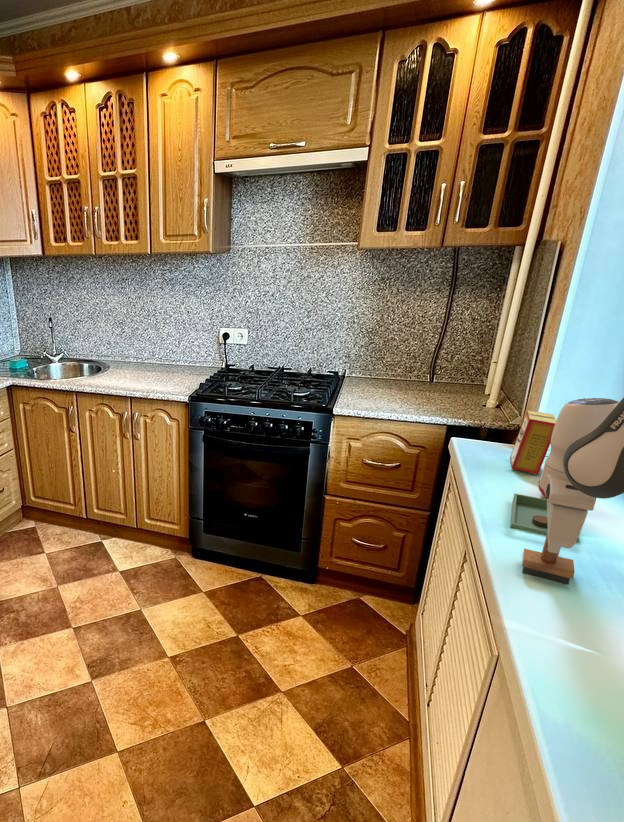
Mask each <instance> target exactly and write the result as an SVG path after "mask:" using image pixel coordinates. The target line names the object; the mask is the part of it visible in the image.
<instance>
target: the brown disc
mask: <svg viewBox="0 0 624 822" xmlns="http://www.w3.org/2000/svg"><path fill="white" fill-rule="evenodd" d="M532 523H533V524H534V525H536V526H539V527H543V528H548V525H547V517H545V516H533V518H532Z"/></svg>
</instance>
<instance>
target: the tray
mask: <svg viewBox="0 0 624 822" xmlns="http://www.w3.org/2000/svg"><path fill="white" fill-rule="evenodd" d="M533 516H545V517H547V498H541V497H536V496H530V495H525V494H520V493H514V494H513V497H512V502H511V512H510V521H509V529H515V530H521V531H527V532H530V533H535V534H540V535H544V536H546V535H547V532H548V528H543V527H539V526H536V525H534V524H533V523H532V518H533ZM579 541H580V535H579V536H578V539H577V541H576V543H579Z"/></svg>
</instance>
